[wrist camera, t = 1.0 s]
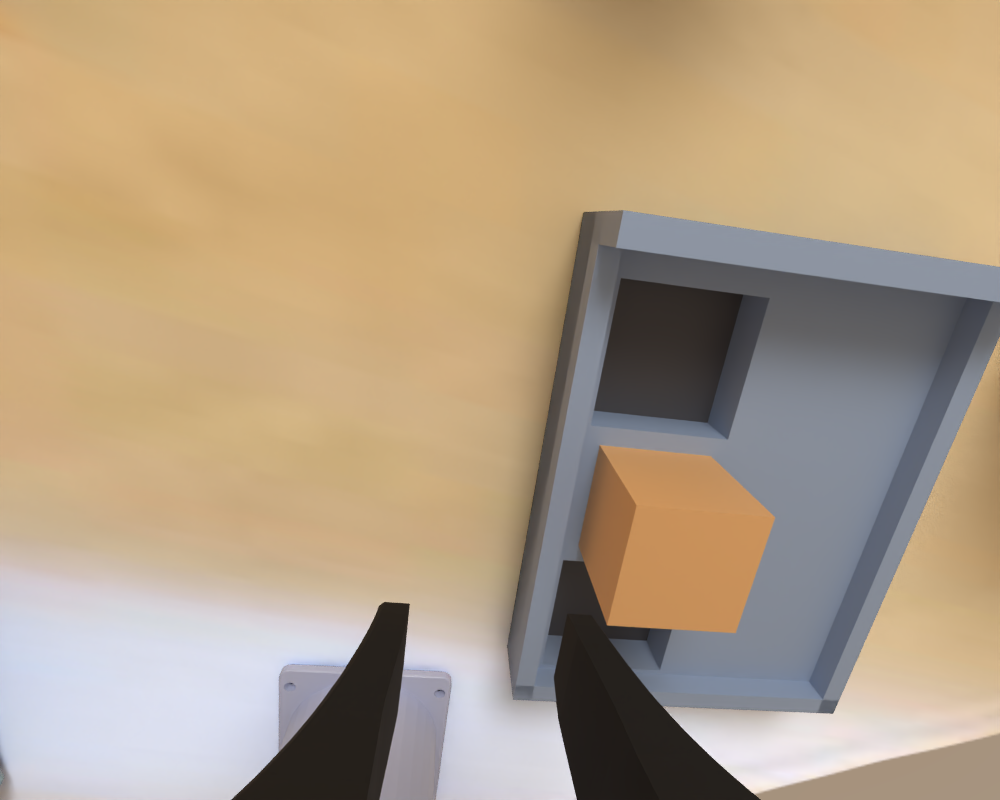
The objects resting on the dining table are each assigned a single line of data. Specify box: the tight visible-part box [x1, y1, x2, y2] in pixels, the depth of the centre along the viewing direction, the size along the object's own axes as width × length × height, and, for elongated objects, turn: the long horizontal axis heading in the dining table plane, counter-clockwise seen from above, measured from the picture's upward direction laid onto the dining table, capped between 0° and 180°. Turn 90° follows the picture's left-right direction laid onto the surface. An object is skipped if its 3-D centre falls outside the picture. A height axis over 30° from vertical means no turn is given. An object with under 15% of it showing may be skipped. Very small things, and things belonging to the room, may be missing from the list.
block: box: [578, 445, 775, 633], centre depth 19 cm, size 4×4×4 cm
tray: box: [507, 210, 1000, 714], centre depth 21 cm, size 20×15×5 cm
